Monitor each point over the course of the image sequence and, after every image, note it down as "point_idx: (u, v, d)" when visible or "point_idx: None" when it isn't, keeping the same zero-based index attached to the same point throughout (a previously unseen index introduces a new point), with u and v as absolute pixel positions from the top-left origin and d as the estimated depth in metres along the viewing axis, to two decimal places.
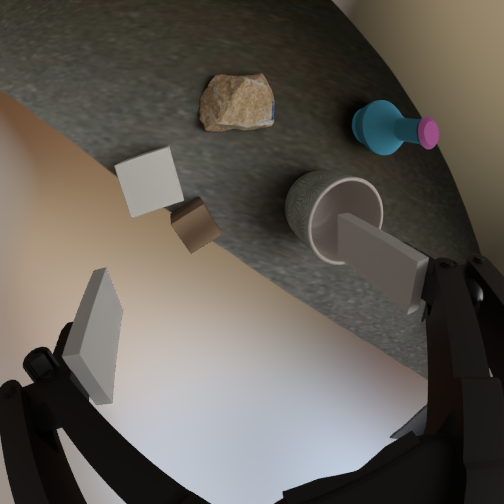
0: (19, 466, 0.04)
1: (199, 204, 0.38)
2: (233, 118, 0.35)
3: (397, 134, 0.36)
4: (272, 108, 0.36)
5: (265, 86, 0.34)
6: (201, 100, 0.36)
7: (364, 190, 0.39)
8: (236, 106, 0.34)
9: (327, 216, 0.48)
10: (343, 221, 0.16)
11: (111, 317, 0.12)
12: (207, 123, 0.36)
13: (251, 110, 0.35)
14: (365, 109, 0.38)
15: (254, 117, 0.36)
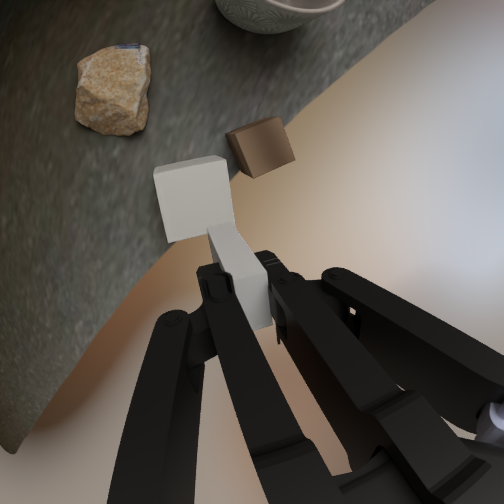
0: (151, 397, 0.06)
1: (234, 138, 0.28)
2: (131, 96, 0.24)
3: None
4: (124, 48, 0.21)
5: (92, 58, 0.20)
6: (105, 133, 0.27)
7: None
8: (114, 93, 0.23)
9: None
10: (221, 230, 0.16)
11: None
12: (134, 127, 0.26)
13: (123, 73, 0.22)
14: None
15: (133, 69, 0.23)
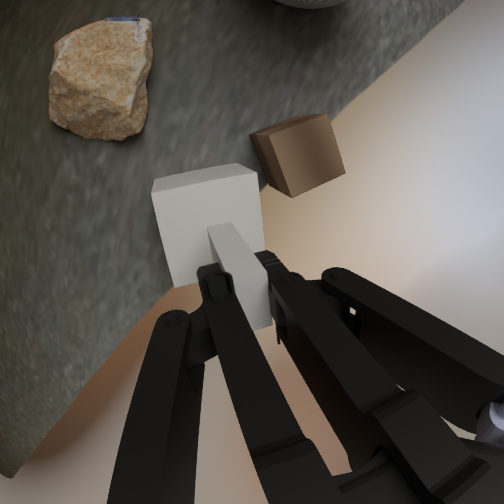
0: (151, 397, 0.06)
1: (266, 141, 0.20)
2: (124, 85, 0.16)
3: None
4: (116, 20, 0.14)
5: (72, 34, 0.12)
6: (89, 137, 0.19)
7: None
8: (100, 81, 0.15)
9: None
10: (221, 230, 0.16)
11: None
12: (127, 130, 0.19)
13: (114, 54, 0.15)
14: None
15: (128, 49, 0.15)
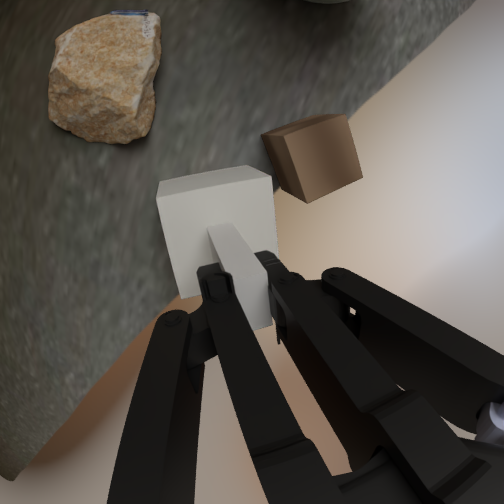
0: (151, 397, 0.06)
1: (280, 142, 0.19)
2: (129, 84, 0.15)
3: None
4: (123, 14, 0.12)
5: (75, 28, 0.11)
6: (92, 140, 0.18)
7: None
8: (104, 79, 0.14)
9: None
10: (221, 230, 0.16)
11: None
12: (132, 132, 0.17)
13: (119, 50, 0.14)
14: None
15: (134, 45, 0.14)
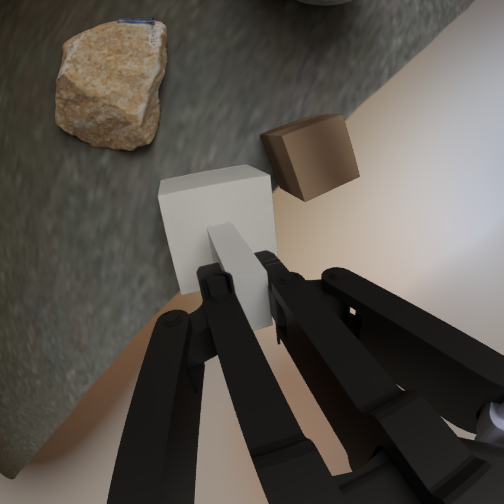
0: (151, 397, 0.06)
1: (279, 141, 0.19)
2: (135, 93, 0.16)
3: None
4: (130, 22, 0.13)
5: (82, 35, 0.12)
6: (97, 145, 0.19)
7: None
8: (110, 87, 0.15)
9: None
10: (221, 230, 0.16)
11: None
12: (138, 140, 0.18)
13: (126, 59, 0.14)
14: None
15: (141, 54, 0.15)
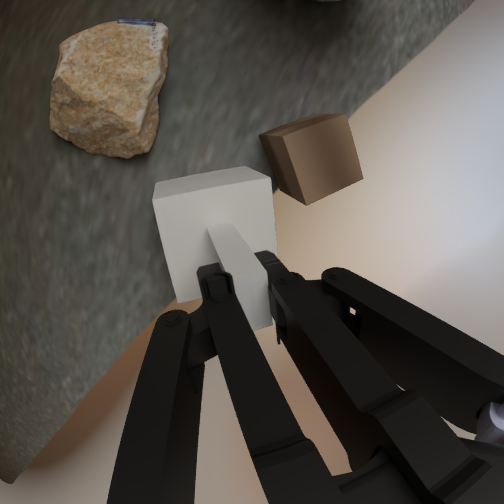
0: (151, 397, 0.06)
1: (279, 142, 0.18)
2: (134, 98, 0.15)
3: None
4: (130, 23, 0.13)
5: (80, 36, 0.11)
6: (93, 152, 0.18)
7: None
8: (108, 92, 0.14)
9: None
10: (221, 230, 0.16)
11: None
12: (135, 148, 0.17)
13: (125, 62, 0.14)
14: None
15: (141, 57, 0.14)
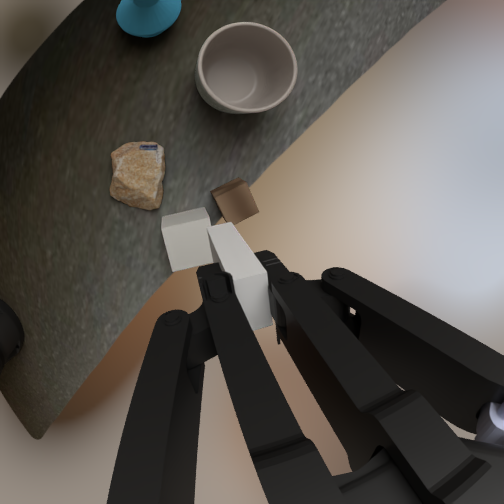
0: (151, 397, 0.06)
1: (215, 199, 0.42)
2: (151, 186, 0.39)
3: (152, 3, 0.24)
4: (146, 149, 0.37)
5: (123, 156, 0.36)
6: (132, 206, 0.42)
7: (216, 39, 0.29)
8: (140, 184, 0.38)
9: (248, 63, 0.38)
10: (221, 230, 0.16)
11: None
12: (153, 207, 0.42)
13: (146, 169, 0.38)
14: (127, 32, 0.28)
15: (153, 167, 0.38)
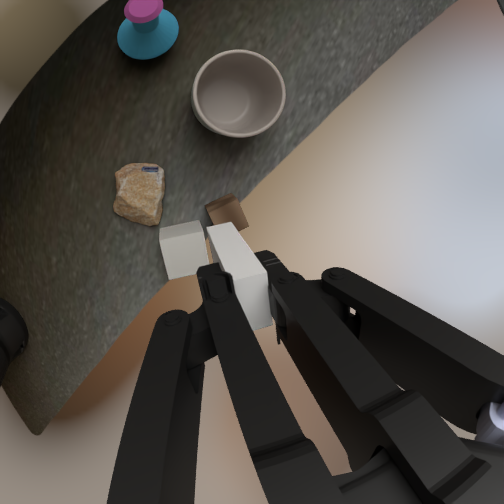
0: (151, 397, 0.06)
1: None
2: (152, 205, 0.44)
3: (150, 30, 0.27)
4: (147, 171, 0.41)
5: (127, 177, 0.40)
6: (133, 221, 0.46)
7: (211, 65, 0.33)
8: (141, 203, 0.42)
9: (241, 85, 0.42)
10: (221, 230, 0.16)
11: None
12: (153, 223, 0.46)
13: (147, 189, 0.42)
14: (128, 55, 0.32)
15: (153, 187, 0.42)
